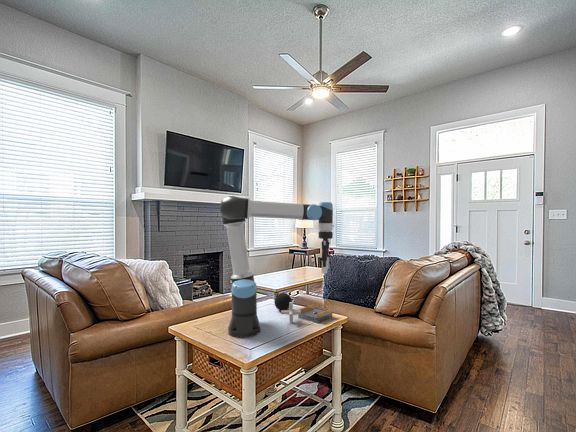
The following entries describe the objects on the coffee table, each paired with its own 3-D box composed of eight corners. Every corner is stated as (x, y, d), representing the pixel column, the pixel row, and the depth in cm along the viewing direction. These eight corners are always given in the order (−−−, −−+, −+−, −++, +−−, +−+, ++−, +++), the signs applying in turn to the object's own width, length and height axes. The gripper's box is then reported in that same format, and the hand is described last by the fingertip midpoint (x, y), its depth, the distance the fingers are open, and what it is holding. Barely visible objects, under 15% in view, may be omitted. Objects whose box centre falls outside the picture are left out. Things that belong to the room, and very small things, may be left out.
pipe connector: (301, 325, 157) (301, 305, 157) (281, 325, 157) (280, 305, 157) (300, 319, 167) (300, 300, 167) (281, 319, 167) (281, 300, 167)
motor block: (318, 323, 160) (317, 314, 160) (298, 318, 169) (298, 309, 169) (332, 317, 170) (332, 308, 170) (312, 312, 178) (312, 304, 178)
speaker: (282, 314, 175) (281, 296, 175) (271, 310, 183) (270, 293, 183) (295, 310, 182) (295, 293, 182) (284, 307, 189) (284, 290, 190)
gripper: (331, 232, 156) (331, 275, 156) (333, 230, 180) (333, 267, 180) (316, 232, 157) (316, 274, 157) (320, 230, 182) (320, 267, 181)
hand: (325, 271), depth 168 cm, fingers open, 13 cm apart
